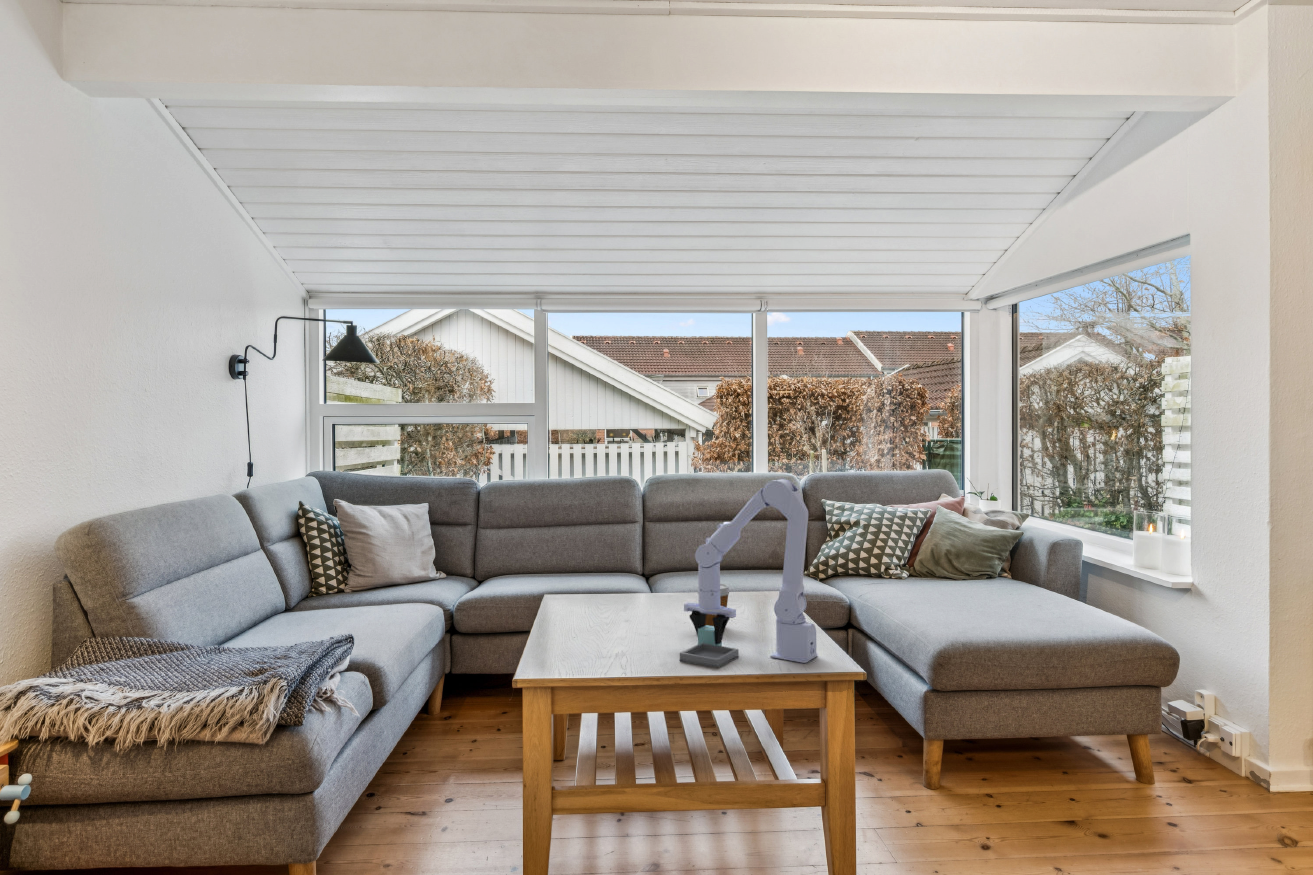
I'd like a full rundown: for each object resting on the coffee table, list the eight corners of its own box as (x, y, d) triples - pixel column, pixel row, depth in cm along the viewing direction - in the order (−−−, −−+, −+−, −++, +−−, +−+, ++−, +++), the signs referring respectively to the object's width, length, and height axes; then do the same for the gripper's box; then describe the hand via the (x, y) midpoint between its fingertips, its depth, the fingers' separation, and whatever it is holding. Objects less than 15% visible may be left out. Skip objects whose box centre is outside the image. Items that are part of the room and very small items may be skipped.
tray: (738, 657, 178) (738, 648, 178) (717, 668, 170) (717, 659, 170) (701, 650, 184) (701, 642, 184) (679, 661, 176) (679, 652, 176)
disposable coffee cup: (728, 632, 202) (728, 589, 202) (694, 631, 203) (694, 588, 204) (731, 624, 211) (731, 583, 211) (699, 622, 213) (699, 582, 213)
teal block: (721, 646, 188) (721, 627, 188) (713, 650, 184) (712, 631, 184) (706, 643, 190) (706, 625, 190) (698, 648, 187) (697, 628, 187)
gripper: (677, 589, 188) (678, 641, 188) (726, 595, 180) (727, 649, 180) (691, 584, 194) (692, 635, 194) (739, 590, 186) (740, 643, 186)
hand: (709, 641), depth 187 cm, fingers closed on teal block, 4 cm apart
